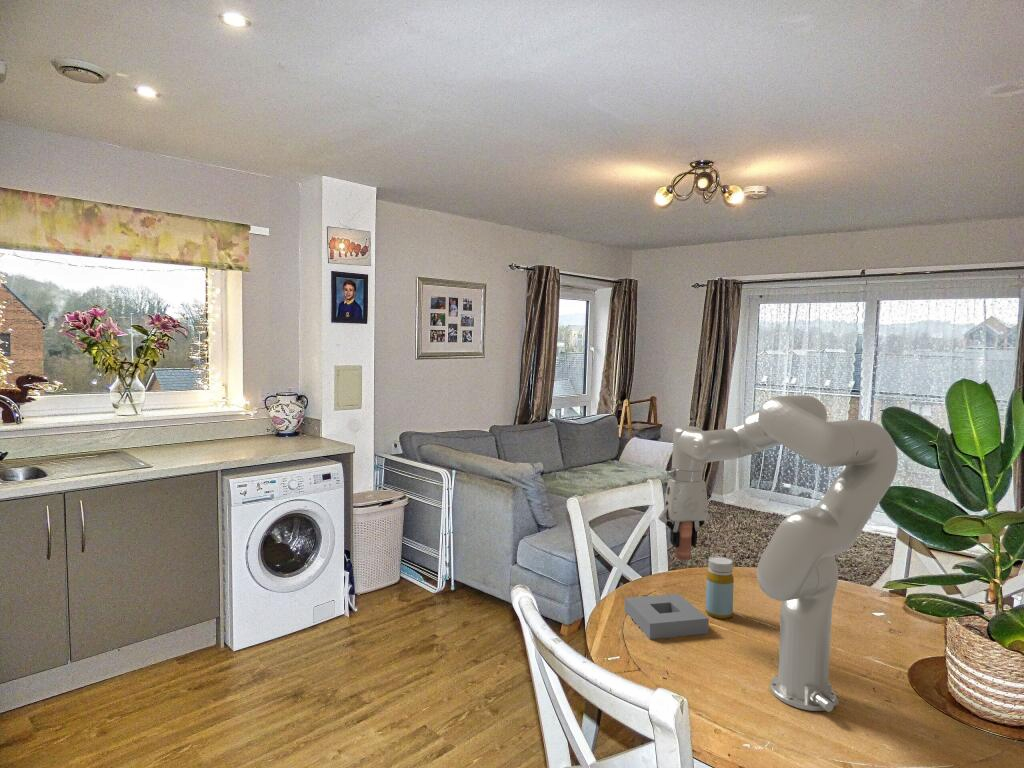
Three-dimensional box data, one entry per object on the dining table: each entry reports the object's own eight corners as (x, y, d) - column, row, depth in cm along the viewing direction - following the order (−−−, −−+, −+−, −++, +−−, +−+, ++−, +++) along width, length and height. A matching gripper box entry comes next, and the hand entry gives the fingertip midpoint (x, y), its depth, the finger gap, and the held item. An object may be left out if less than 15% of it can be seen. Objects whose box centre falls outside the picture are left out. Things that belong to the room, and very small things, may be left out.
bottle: (736, 620, 164) (737, 565, 164) (709, 619, 165) (711, 564, 164) (727, 609, 171) (729, 556, 170) (702, 608, 171) (703, 555, 171)
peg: (693, 559, 156) (696, 513, 155) (679, 560, 156) (681, 514, 155) (686, 554, 160) (688, 508, 159) (671, 554, 159) (674, 509, 158)
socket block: (708, 633, 156) (708, 618, 156) (649, 639, 153) (650, 623, 153) (678, 607, 172) (678, 593, 172) (624, 612, 168) (624, 598, 168)
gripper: (662, 479, 151) (659, 552, 152) (724, 477, 154) (720, 548, 156) (649, 472, 158) (646, 542, 160) (709, 471, 162) (705, 539, 163)
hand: (683, 544), depth 158 cm, fingers closed on peg, 4 cm apart
